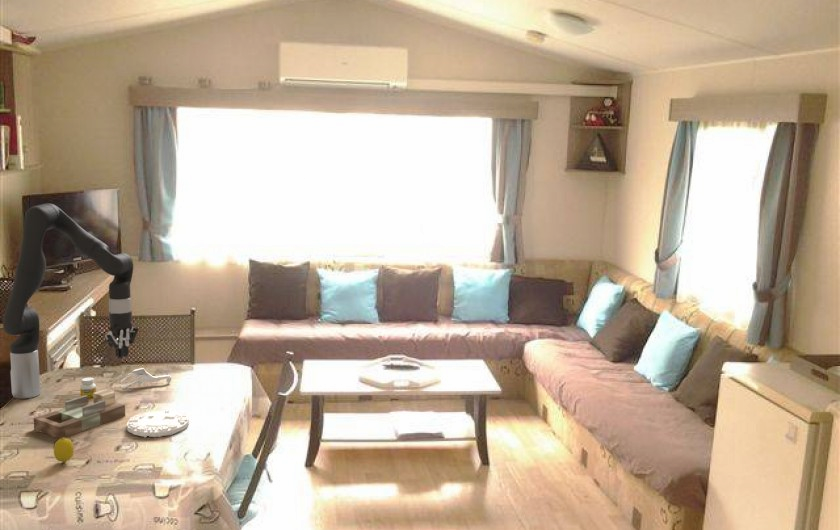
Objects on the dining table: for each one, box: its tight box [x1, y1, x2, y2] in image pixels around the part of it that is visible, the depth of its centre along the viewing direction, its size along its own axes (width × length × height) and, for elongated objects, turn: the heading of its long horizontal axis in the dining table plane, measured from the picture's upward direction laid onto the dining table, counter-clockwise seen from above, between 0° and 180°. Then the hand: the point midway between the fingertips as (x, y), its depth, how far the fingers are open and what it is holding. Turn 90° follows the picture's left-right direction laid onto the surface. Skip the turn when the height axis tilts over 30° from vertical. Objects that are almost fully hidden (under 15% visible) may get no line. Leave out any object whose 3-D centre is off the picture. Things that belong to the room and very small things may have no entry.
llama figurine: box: [118, 367, 172, 390], centre depth 295 cm, size 2×11×18 cm
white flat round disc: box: [126, 409, 190, 439], centre depth 255 cm, size 20×20×3 cm
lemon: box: [53, 437, 75, 464], centre depth 225 cm, size 6×6×8 cm
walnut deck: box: [33, 395, 126, 440], centre depth 256 cm, size 14×25×7 cm, turn 149°
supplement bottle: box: [79, 377, 97, 400], centre depth 273 cm, size 5×5×10 cm
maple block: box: [93, 388, 116, 406], centre depth 264 cm, size 5×5×4 cm
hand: (122, 357), depth 268 cm, fingers closed
